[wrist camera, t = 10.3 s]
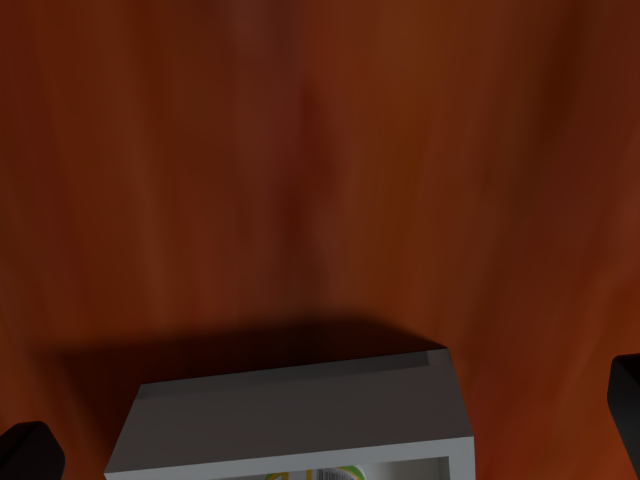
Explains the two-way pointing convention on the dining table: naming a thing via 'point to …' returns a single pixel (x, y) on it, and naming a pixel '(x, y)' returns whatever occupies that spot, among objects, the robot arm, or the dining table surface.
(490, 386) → the dining table surface
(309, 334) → the dining table surface
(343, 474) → the supplement bottle
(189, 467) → the tote
